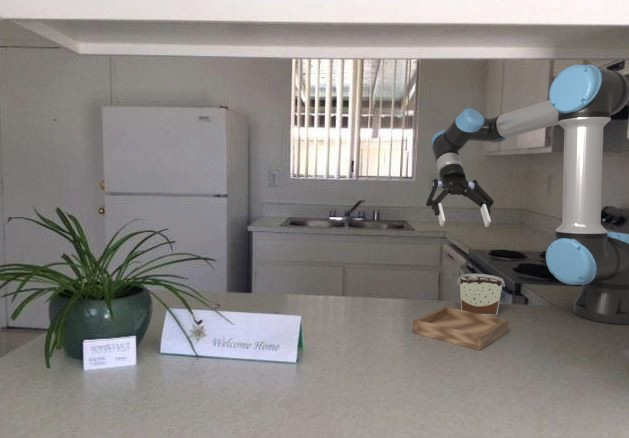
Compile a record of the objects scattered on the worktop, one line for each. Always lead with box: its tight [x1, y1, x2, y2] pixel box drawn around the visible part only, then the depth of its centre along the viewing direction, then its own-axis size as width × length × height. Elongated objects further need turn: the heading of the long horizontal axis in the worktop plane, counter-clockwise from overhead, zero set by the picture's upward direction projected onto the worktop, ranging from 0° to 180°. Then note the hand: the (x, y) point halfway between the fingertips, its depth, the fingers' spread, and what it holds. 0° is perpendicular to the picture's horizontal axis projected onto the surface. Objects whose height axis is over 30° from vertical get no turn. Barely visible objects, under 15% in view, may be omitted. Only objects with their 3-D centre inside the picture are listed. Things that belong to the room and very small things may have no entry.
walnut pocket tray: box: [412, 306, 509, 351], centre depth 119 cm, size 16×16×3 cm
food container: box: [456, 273, 506, 316], centre depth 137 cm, size 12×6×10 cm, turn 84°
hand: (465, 223), depth 146 cm, fingers open, 13 cm apart
